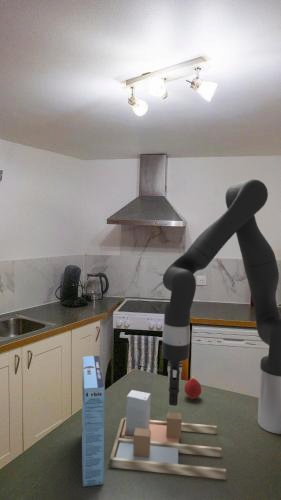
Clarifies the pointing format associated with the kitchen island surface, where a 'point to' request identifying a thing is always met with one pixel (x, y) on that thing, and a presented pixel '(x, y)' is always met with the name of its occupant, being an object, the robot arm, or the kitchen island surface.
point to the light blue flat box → (92, 422)
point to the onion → (192, 388)
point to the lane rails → (182, 448)
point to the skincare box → (137, 411)
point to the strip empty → (146, 449)
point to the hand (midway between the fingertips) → (173, 396)
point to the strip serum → (164, 430)
